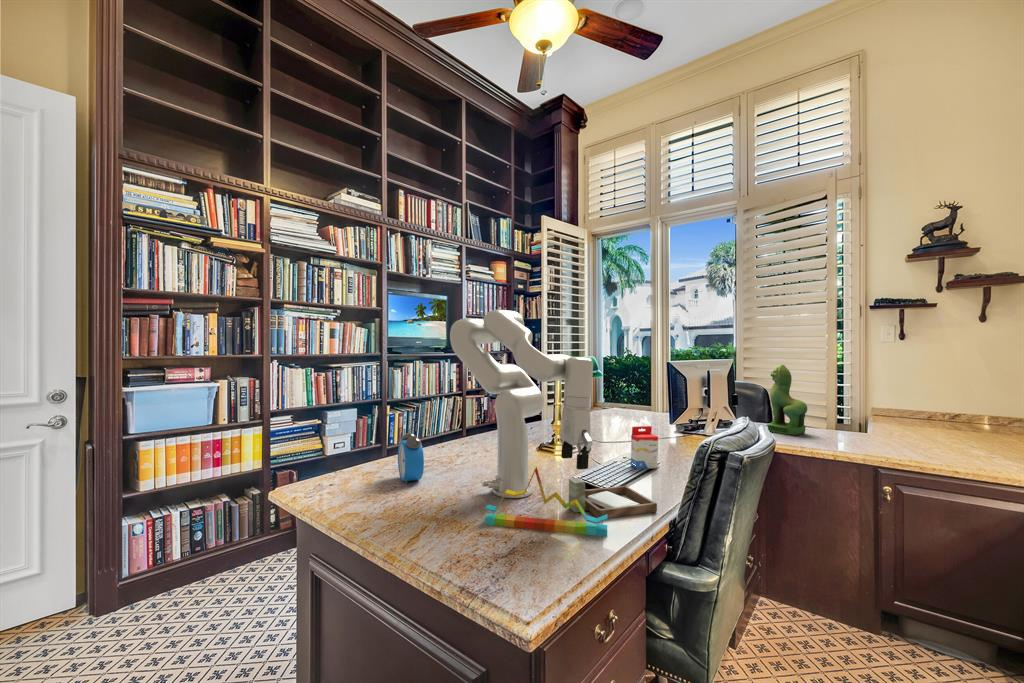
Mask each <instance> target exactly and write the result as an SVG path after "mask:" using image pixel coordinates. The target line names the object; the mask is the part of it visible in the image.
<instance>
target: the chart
mask: <svg viewBox="0 0 1024 683" xmlns="http://www.w3.org/2000/svg"><path fill="white" fill-rule="evenodd" d="M534 475H535V476H536V479H537V483H538V487H539V491H540V494H541V499H542V501H543V504H544V505H546V504H547V503H548V502H550V501H551V500H552V499H554V498H555V499H556V500H557V501H558V502H559V504H560V505H561V506H562V507H563V509H565V510H566V509H568V508H569V507H570V506H572V505H574V504H576V505H577V507H578V509H579V510H580V512H579V513H581V516H582V518H584V520H585V521H586V522H581V521H571V520H563V519H560V520H558V519H552V518H542V517H541V518H540V517H530V516H520V515H509V514H500V513H495V512H496V511H497V509H498V508H499V507H500V504H501V503H502V501H503V499H504V498H505V497H504V496H505V494H507V495H510V496H514V497H515V496H519V495H523V494H525V492H526V490H527V488H528V486H529V485H531V482H532V479H533V477H534ZM529 479H530V480H528V486H527V488H526V489H525V490H521V491H518V492H516V491H512V490H508V489H507V490H506V492H505V493H504V495H503V497H501V499H500V501H499V503H498V505H497V506H495V505H491V504H487V505H486V506H485V508H484V510H486V511H489V512H487V514H486V515H485V516H484V524H485V525H492V526H493V525H494V526H501V527H511V528H519V529H520V528H521V529H531V530H538V531H539V530H540V531H550V532H559V533H570V534H578V535H591V536H598V537H608V524H602V522H604V521H607V520H608V518H607V514H606V515H603V516H601V517H599V518H597V517H596V516H595V517H594V516H591V515H587V514H586V511H584V510H583V509H582V507H581V505H580V504H579V502H578V500H577V499H575V500H573V501H571V503H570V502H569V501H568V502H567V503H566V502H565V500H564V499H563V498H562V496H560V494H559V493H558V492H557V491H555V492H554V493H553V494H551V495H550V496H548V497H547V498H546V494H545V491H544V487H543V484H542V480H541V478H540V474H539V471H538V467H537V466H536V467H535V469H534V470H533V473H532V475H531V477H530V478H529ZM490 512H493V513H490Z"/></svg>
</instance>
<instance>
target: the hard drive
mask: <svg viewBox="0 0 1024 683" xmlns="http://www.w3.org/2000/svg"><path fill="white" fill-rule="evenodd" d="M587 500H589V501H590V502H591V503H593V504H594V505H596V506H600V507H602V508H603V509H607V508H615V507H623V506H632V505H640V503H639V502H637V501H635V500H631V499H628V498H626V497H623V496H621V495H616V494H614V493H611V492H609V491H604V492H600V493H596V494H593V495H589V496H588V498H587Z"/></svg>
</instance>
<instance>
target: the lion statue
mask: <svg viewBox="0 0 1024 683" xmlns="http://www.w3.org/2000/svg"><path fill="white" fill-rule="evenodd" d="M770 377H772V378H771V380H772V381H774V384H773V385H772V386H771V388H770V391H769V396H770V397H769V399H770V402H771V407H772V416H773V417H772V418H773V420H772V421H771V422H770V423H767V424H766V427H767V431H768V430H769V431H771V432H770V433H775V434H780V435H785V436H786V435H787V436H799V435H802V434H803V435H804V434H805V433H806V425H805V419H806V414H807V413H808V406H807V403H805V402H804V401H803V400H801V399H796V398H793V397H792V396H791V395H790V389H791V386H792V380H793V379H792V374H791V371H790V370H789V368H787V367H786V365H785V364H780V365H778V366H776V367H775V368H774V369H773V371H771V372H770ZM785 415H786V416H787V417H788V418H789V422H786V419H785V418H786V416H785ZM769 431H768V432H769Z"/></svg>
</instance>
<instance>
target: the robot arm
mask: <svg viewBox="0 0 1024 683" xmlns="http://www.w3.org/2000/svg"><path fill="white" fill-rule="evenodd" d="M449 330H450V331H449V340H450V346H451V348H452V351H453V352H454V355H456V357H457V358H458V359H459V360H460V361H461V362H462V363H463V365H464V366H466V368H467V369H468V370H469V372H470V373H471V374H472V375H473V377H474V378H475V379H476V381H477V382H478V384H479V385H480V386H481V387H482V389H483V390H484V391H485V392H486V393H488V394H491V395H497V396H496V398H495V401H494V411H495V417H496V425H497V426H496V427H497V467H496V468H497V474H496V475H494V477H493V478H491V479H483V480H482V479H481V486H482V487H483V488H484V487H485V488H488V489H492V490H491V491H492V493H493V494H494V495H496V496H498V497H501V498H502V497H503V495H504V493H505V492H506V490H507V489H508V490H512V491H516V492H518V491H521V490H525V489H526V488H527V486H528V484H529V443H530V442H529V439H530V438H529V430H528V426H527V423H526V421H525V419H526V418H530V417H534V416H537V415H539V414H540V413H541V412H542V411H543V409H544V407H545V398H544V395H543V393H542V392H541V390H540V389H539V387H538V386H537V385H536V383H535V382H534V381H533V380H532V379H531V377H532V378H533V379H534V380H536V381H539V382H543V383H546V382H547V383H548V382H558V381H564V387H563V388H564V389H563V407H562V412H561V418H560V429H559V436H560V438H561V458H562V459H572V458H573V452H574V451H573V450H574V449H573V448H574V447H576V448H577V452H578V453H577V454H576V465H575V466H576V470H588V469H589V459H590V458H589V456H590V452H591V450H592V445H593V440H592V438H591V408H592V396H593V395H592V394H593V393H592V391H593V377H594V376H593V374H594V362H593V360H592V359H591V358H589V357H583V356H571V355H567V354H564V353H563V354H562V353H553V354H544V353H543V352H541V351H539V350H538V349H537V348H535V347H534V346H533V345H532V342H533V332H532V331H531V330H530V329H529V328H528V327H526V326H525V321H524V318H523V317H522V315H521V314H520V313H519V312H517V311H514V310H507V309H492V310H489V312H487V313H486V314H485V315H484V317H483V318H475V317H473V318H472V317H471V318H470V317H466V318H460V319H459V320H455V322H454V323H453V324H451V327H450V329H449ZM497 342H500V344H502V345H503V346H505V347H506V349H508V350H509V351H510V352H511V353H512V356H513V359H514V361H515V363H516V364H514V363H500V362H498V361H496V359H494V357H493V356H492V354H490V352H488V351H487V350H486V349H485V348H484V347H482V345H483V344H484V345H485V344H486V345H487V344H493V343H497ZM481 344H482V345H481ZM529 376H530V377H529ZM533 492H534V487H533V486H532V485H531V484H529V486H528V488H527V490H526V492H525V494H523V495H519V496H515V497H514V496H510V495H507V494H505V496H504V497H503V498H506V499H521V498H526V497H529V496H531V495H532V494H533Z"/></svg>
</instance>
